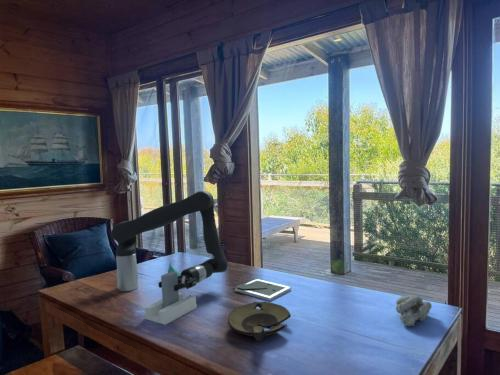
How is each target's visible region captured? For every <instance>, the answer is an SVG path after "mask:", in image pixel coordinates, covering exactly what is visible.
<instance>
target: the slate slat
mask: <svg viewBox="0 0 500 375" xmlns="http://www.w3.org/2000/svg"><path fill="white" fill-rule="evenodd" d="M177 272H178V271H177ZM177 272H170V273H168V272H167V273H165V274H163V275H161V277H160V278H161V281H160V282H161V283H162V287H161V297H162V298H161V299H163V308H165V307H167V306H169V305H171V304H173V303H175V302H177V301H179V293H180V292H179V290H177V291H174V285H177V284H178V277H177ZM178 292H179V293H178Z"/></svg>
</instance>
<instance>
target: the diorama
mask: <svg viewBox="0 0 500 375" xmlns="http://www.w3.org/2000/svg"><path fill="white" fill-rule="evenodd" d="M182 271H183V270H182ZM182 271H178V270H177V269H176V268H175V267H174V266H173V264H172V262H169V267H168V269H167V273H170V272H177V275H180V274H181V272H182Z"/></svg>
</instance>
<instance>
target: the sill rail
mask: <svg viewBox="0 0 500 375" xmlns="http://www.w3.org/2000/svg"><path fill="white" fill-rule="evenodd" d="M178 293H179V301H177V302H175V303H173V304H171V305H169V306H167V307H165V308H163V298H161V299H160V300H157V301H156V302H152V303H151V304H149V305H146V306H145V307H144V312H145V313H144V314H145V316H144V317H145V320H148V321H151V322H154V323H157V324H158V323H159V324H161V325H165V326H166V325H167V324H168V325H169V323H171V322H173V321H175V320H177V319H178V318H180V317H182V316H184V315H185V314H187V313H189V312H191V311H193V310H195V309H197V307H198V306H197V296H196V295H193V294H189V295H188V296H186V297H183V293H182V292H179V291H178Z"/></svg>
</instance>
